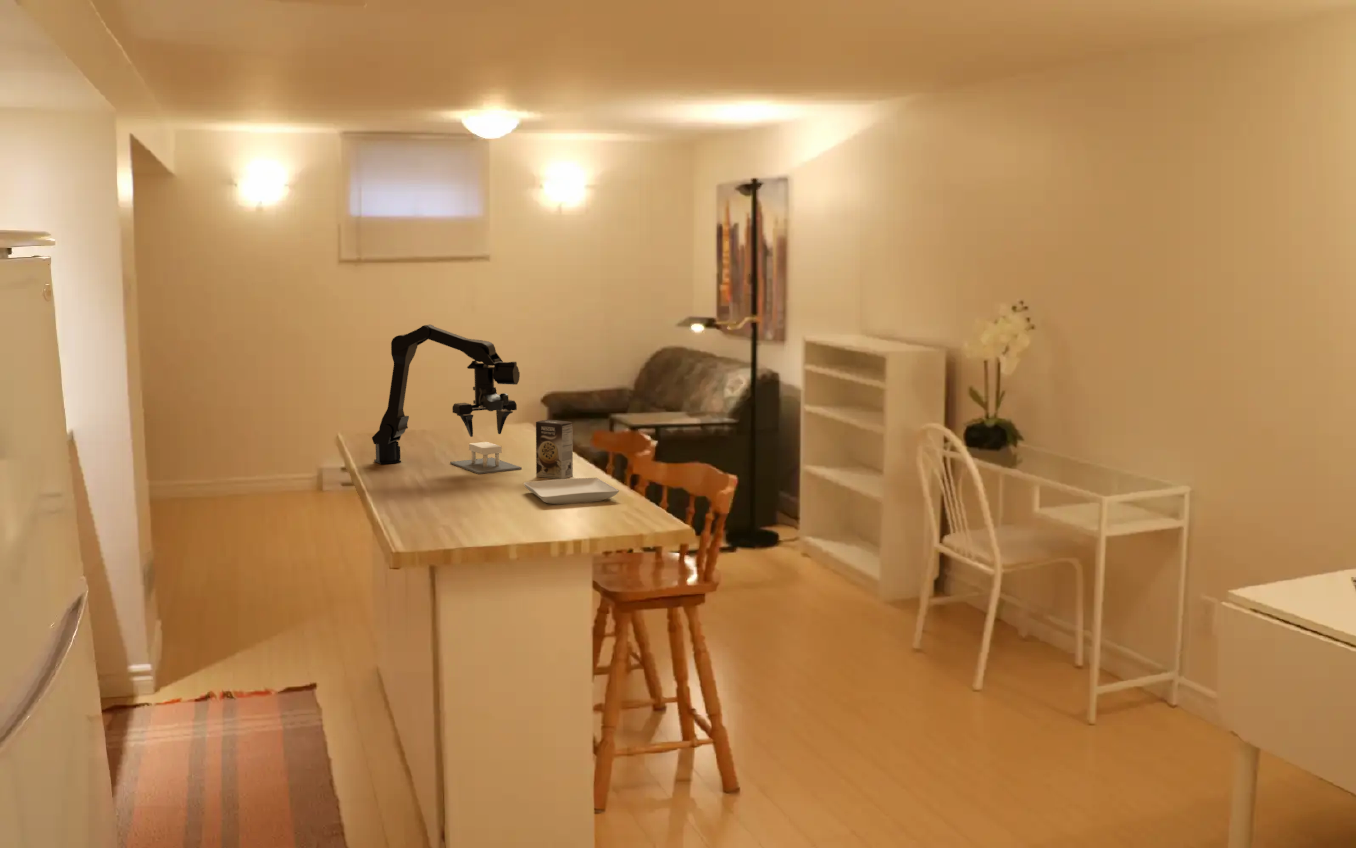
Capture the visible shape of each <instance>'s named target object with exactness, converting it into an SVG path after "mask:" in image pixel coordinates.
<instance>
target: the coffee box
mask: <svg viewBox="0 0 1356 848" xmlns="http://www.w3.org/2000/svg"><path fill="white" fill-rule="evenodd" d="M573 431H574V422H573V421H567V420H566V421H565V420H556V419H544V420H539V421H537V420H536V422H535V458H536V459H535V467H536V468H535V472H536V473H535V476H536V477H538V478H539V477H541V478H547V479H553V480H556V479H569V478H572V477H573V473H574V472H573V471H574V469H573V468H574V463H573V461H574V460H573V458H574V457H573V455H574V454H573V452H574V450H573V449H574V447H573V446H574V444H573V441H574V439H573V437H574V436H573V434H574V432H573Z"/></svg>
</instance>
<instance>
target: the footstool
mask: <svg viewBox="0 0 1356 848" xmlns="http://www.w3.org/2000/svg"><path fill="white" fill-rule="evenodd" d="M502 449H503V448H502V445H498V444H495V443H492V442H488V441H481V442H480V441H479V442H471V443H468V451H470V452H471V460H472V463H473V464H474V463H476V459H477V458H476V457H477V456H476V454H480V455H482V458H483V467H484V468H487V462H488V458H489V456H488V455H494V456H495V457H494V458H495V466H499V460H500V454H502Z"/></svg>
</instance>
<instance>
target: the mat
mask: <svg viewBox="0 0 1356 848" xmlns="http://www.w3.org/2000/svg"><path fill="white" fill-rule="evenodd" d="M449 463H450V465H452V464H453V465H452V466H456V467H457V468H461V467H462V468H461V469H463V468H464V469H463V470H466V471H468V472H472V473H474V474H478V475H481V474H482V475H483V474H484V473H485V474H491V473H500V472H501V473H502V472H509V471H517V470H518V471H519V470H522V466H519V465H516V464H513V463H510V462H508V461H504V460H500V459H499V466H495V457H488V462H487V468H484V467H483V457H482V458H476V463H474V464H473V463H472V459H466V460H465V459H464V460H456V461H450V462H449Z"/></svg>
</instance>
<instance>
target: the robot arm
mask: <svg viewBox="0 0 1356 848" xmlns="http://www.w3.org/2000/svg"><path fill="white" fill-rule="evenodd" d="M428 340H430V341H431V342H432V341H433V342H435V343H438V344H439V345H440V344H441V345H443V346H446V347H448V348H452V349H455V350H457V351H460V352H462V353H463V354H465V355H466V356H467V357H468V358H470V359H472V361H471V363H470V364H468V365H467V367H466V368H467V370H468V369H469V370H474V376H473V377H474V386H473V387H472V391H474V399H473V400H472V401H473V402H472V403H473V404H472V403H467V402H456V403H454V404H453V405H452V409H451V410H452V414H455V415H456V416H458V417H460V419H461V420H462V422H463V423H464V426H465V428H466V430H467V433H468V435H469V436H470V437H471V438H472V437H474V429H473V428H474V427H473V418H474V414H472V413H473V412H474V411H475V412H478V411H488V412H494V411H495V412H496V413H495V415H496V429H497V434H498V435H501V434H502V431H503V428H504V426H505V422H506V420H507V418H508V416H509V415H510V414H513V412H514V411H517V409H518V408H517V407H518V404H517V402H516V401H515V400H512V399H509V394H508V393H506V392H504V393H503V392H502V393H500V394H498V392H497V387H495V382H496V384H497V385H512V386H513V385H518V383H520V382H519V381H520V373H521V372H520V371H519V367H518V366H517V361H503V359H502V358H501V357H500V355H499V354H498V353H497V351H496V347H495V344H494V343H492V342H491V341H487V340H482V339H476V338H475V339H474V338H473V339H472V338H467V337H464V336H462V335H460V334H457V333H453V332H451V331H447V330H444V329H442V328H439V327H436V326H434V325H433V324H425V325H422V326H420V327H418V328H416V329H414V330H412V331H411V332H407V333H404V334H399V335H396V336H394V337H393V338H392V340H391V343H390V350H391V351H390V354H391V358H392V360H393V367H392V368H393V369H392V373H391V375H392V376H391V382H390V389H389V397H388V404H387V407H386V408H387V409H386V410H385V412H384V415H382V419H381V421H380V425H379V426H378V427H379V429H378V431H377V432H376V433H375V434H374V435H372V437H371V440H372V442H373V444H374V445H375V459H374V460H373V462H375V463H378V464H379V465H386V464H387V465H388V464H394V463H395V464H397V463H402V460H401V446H400V445H399V444H400V443H399V441H400V440H401V437H402V435H403V434H404V433H405V432H406V430H407V429H408V428H409V426H408V422H409V418H410V417H409V415H405V411H404V406H405V399H406V392H407V386H408V385H407V384H408V377H409V370H410V365H411V363H412V361H413V360H414V357H415V354H416V353H417V349H418V346H420V345H421V344H423V343H425V342H426V341H428Z"/></svg>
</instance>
